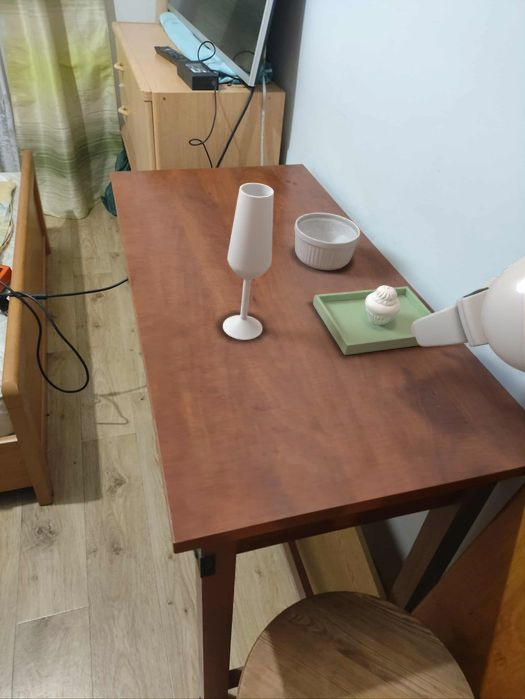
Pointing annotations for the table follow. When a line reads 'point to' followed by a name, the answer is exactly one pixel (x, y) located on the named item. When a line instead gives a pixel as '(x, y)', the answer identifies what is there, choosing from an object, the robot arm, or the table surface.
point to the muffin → (382, 305)
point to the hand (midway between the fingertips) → (436, 322)
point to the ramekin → (325, 240)
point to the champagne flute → (250, 251)
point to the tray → (368, 321)
